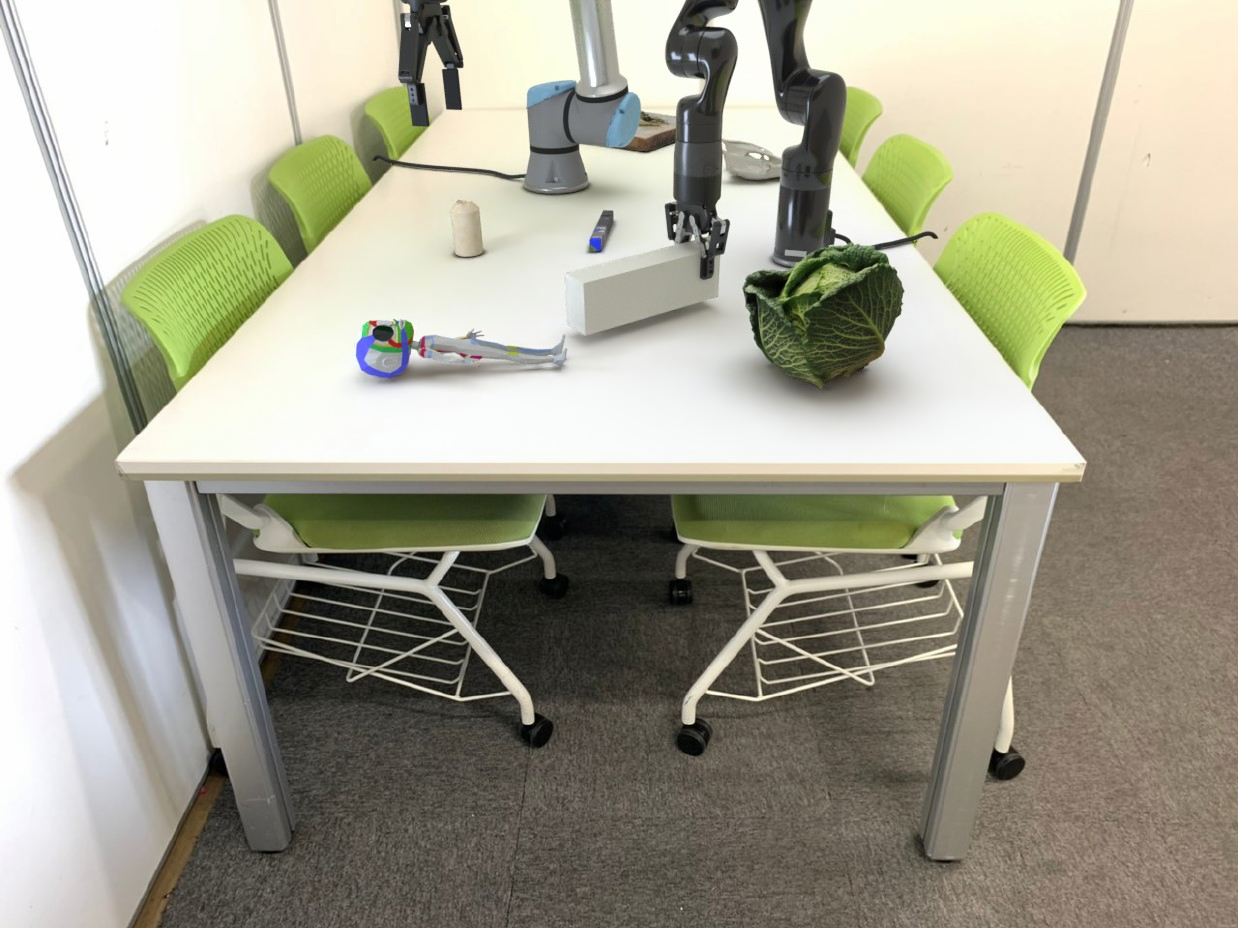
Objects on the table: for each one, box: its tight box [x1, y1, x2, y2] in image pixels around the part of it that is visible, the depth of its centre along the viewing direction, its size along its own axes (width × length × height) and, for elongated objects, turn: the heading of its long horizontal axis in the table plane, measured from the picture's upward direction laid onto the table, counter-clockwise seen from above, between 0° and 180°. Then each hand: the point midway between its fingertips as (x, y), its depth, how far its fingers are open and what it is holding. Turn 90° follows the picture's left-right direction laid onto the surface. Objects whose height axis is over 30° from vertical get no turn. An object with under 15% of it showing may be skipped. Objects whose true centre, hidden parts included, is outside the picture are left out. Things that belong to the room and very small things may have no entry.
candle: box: [449, 199, 484, 258], centre depth 172 cm, size 6×6×10 cm
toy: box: [353, 318, 568, 379], centre depth 130 cm, size 10×8×30 cm
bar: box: [563, 239, 721, 337], centre depth 143 cm, size 26×5×8 cm, turn 125°
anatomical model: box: [722, 138, 782, 181], centre depth 217 cm, size 15×9×25 cm
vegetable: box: [742, 241, 906, 390], centre depth 125 cm, size 20×19×20 cm
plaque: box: [618, 109, 676, 152], centre depth 257 cm, size 30×7×30 cm
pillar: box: [588, 209, 615, 252], centre depth 182 cm, size 2×2×20 cm
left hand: (438, 117), depth 151 cm, fingers open, 13 cm apart
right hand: (694, 272), depth 148 cm, fingers closed on bar, 5 cm apart
